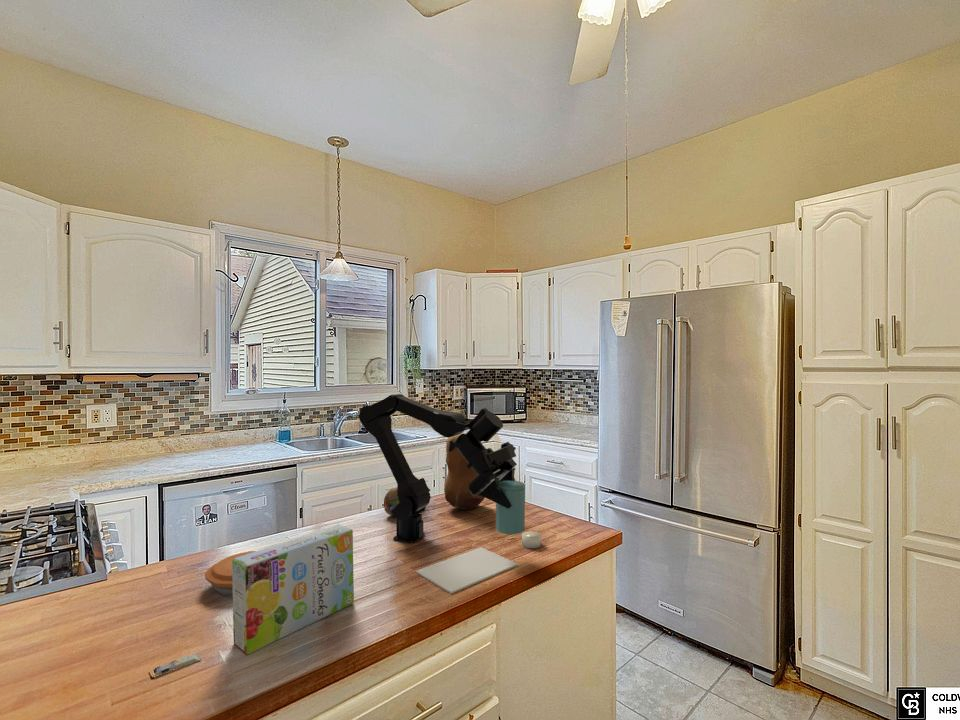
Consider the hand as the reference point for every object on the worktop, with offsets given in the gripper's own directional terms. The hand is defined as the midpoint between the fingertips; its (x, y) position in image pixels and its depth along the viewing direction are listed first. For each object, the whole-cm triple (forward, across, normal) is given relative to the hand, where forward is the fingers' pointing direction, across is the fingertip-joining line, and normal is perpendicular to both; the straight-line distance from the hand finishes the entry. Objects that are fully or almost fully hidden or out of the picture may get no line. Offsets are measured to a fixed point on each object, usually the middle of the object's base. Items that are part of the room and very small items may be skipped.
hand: (515, 503), depth 114 cm
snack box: (-9, -43, +29) cm, 53 cm away
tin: (-21, +17, +41) cm, 49 cm away
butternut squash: (-10, +28, +30) cm, 42 cm away
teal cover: (+4, 0, +6) cm, 7 cm away
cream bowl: (+10, +10, +9) cm, 17 cm away
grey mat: (+4, -10, +15) cm, 19 cm away
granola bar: (-14, -60, +35) cm, 71 cm away
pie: (-24, -36, +45) cm, 63 cm away
